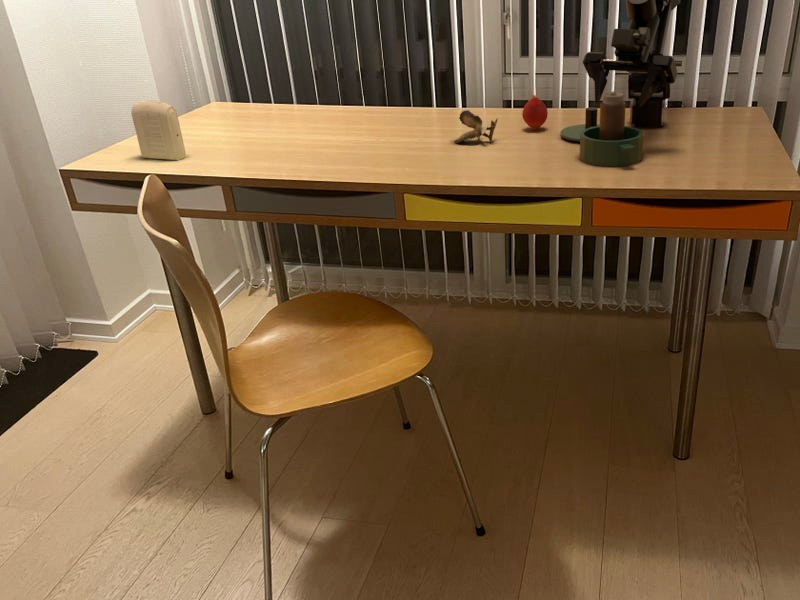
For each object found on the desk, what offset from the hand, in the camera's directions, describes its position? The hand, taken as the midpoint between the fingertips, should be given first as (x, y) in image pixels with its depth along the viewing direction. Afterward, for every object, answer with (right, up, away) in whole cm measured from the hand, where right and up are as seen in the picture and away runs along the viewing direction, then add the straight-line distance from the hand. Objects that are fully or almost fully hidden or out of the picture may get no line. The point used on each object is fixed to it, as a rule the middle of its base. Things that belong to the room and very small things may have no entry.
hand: (617, 103), depth 163 cm
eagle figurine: (-29, -3, +18) cm, 34 cm away
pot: (-1, -10, +3) cm, 11 cm away
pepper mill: (-1, -10, +3) cm, 10 cm away
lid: (-3, -1, +18) cm, 18 cm away
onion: (-15, +2, +25) cm, 29 cm away
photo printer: (-99, -7, +18) cm, 101 cm away
